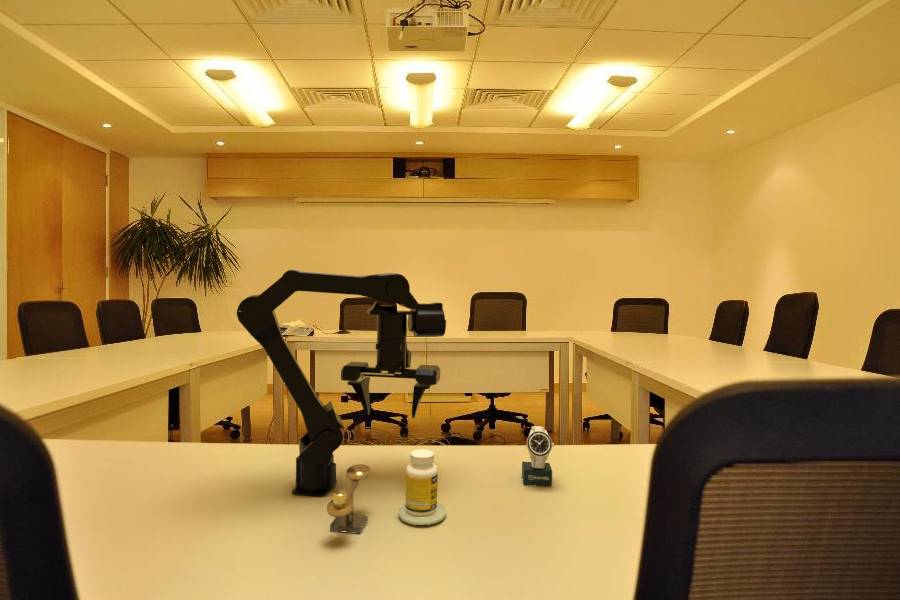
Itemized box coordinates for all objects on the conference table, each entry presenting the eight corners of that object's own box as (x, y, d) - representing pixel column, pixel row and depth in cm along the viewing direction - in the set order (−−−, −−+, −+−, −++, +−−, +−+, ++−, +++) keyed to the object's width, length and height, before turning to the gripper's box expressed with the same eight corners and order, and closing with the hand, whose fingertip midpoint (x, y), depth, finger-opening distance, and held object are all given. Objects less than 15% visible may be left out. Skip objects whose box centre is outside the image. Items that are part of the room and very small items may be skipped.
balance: (319, 546, 76) (319, 494, 75) (347, 506, 89) (347, 463, 88) (351, 549, 75) (352, 497, 75) (375, 509, 88) (375, 465, 87)
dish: (393, 525, 82) (393, 519, 82) (404, 503, 90) (404, 497, 90) (441, 529, 81) (442, 523, 81) (448, 507, 89) (448, 501, 89)
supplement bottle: (435, 517, 83) (436, 459, 83) (403, 516, 83) (403, 458, 83) (438, 503, 88) (439, 448, 88) (407, 501, 89) (408, 447, 88)
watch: (524, 489, 97) (526, 433, 97) (521, 473, 105) (522, 421, 105) (553, 491, 97) (555, 434, 96) (548, 474, 105) (549, 422, 104)
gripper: (444, 334, 105) (443, 408, 106) (358, 331, 108) (357, 403, 108) (436, 341, 94) (434, 423, 95) (340, 337, 96) (339, 418, 97)
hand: (390, 416), depth 99 cm, fingers open, 9 cm apart
